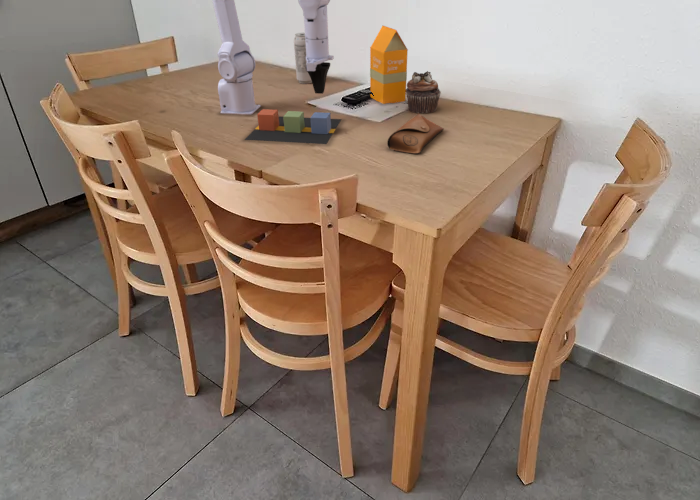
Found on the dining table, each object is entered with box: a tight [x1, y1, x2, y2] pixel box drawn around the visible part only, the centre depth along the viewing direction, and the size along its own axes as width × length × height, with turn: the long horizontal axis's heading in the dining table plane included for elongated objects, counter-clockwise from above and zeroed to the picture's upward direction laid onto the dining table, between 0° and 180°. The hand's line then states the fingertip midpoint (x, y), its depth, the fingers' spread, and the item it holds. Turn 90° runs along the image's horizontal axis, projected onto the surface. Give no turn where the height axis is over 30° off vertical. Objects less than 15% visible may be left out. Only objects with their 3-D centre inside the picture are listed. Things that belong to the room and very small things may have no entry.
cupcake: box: [406, 70, 442, 114], centre depth 137 cm, size 10×10×10 cm
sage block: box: [282, 110, 305, 133], centre depth 126 cm, size 4×4×4 cm
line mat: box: [244, 116, 342, 145], centre depth 128 cm, size 21×18×1 cm
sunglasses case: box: [386, 113, 445, 155], centre depth 120 cm, size 18×7×7 cm
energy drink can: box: [293, 32, 312, 85], centre depth 162 cm, size 6×6×15 cm
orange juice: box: [369, 25, 409, 105], centre depth 143 cm, size 8×9×20 cm
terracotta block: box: [256, 108, 280, 131], centre depth 128 cm, size 4×4×4 cm
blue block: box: [310, 111, 332, 134], centre depth 125 cm, size 4×4×4 cm
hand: (319, 92), depth 129 cm, fingers closed
